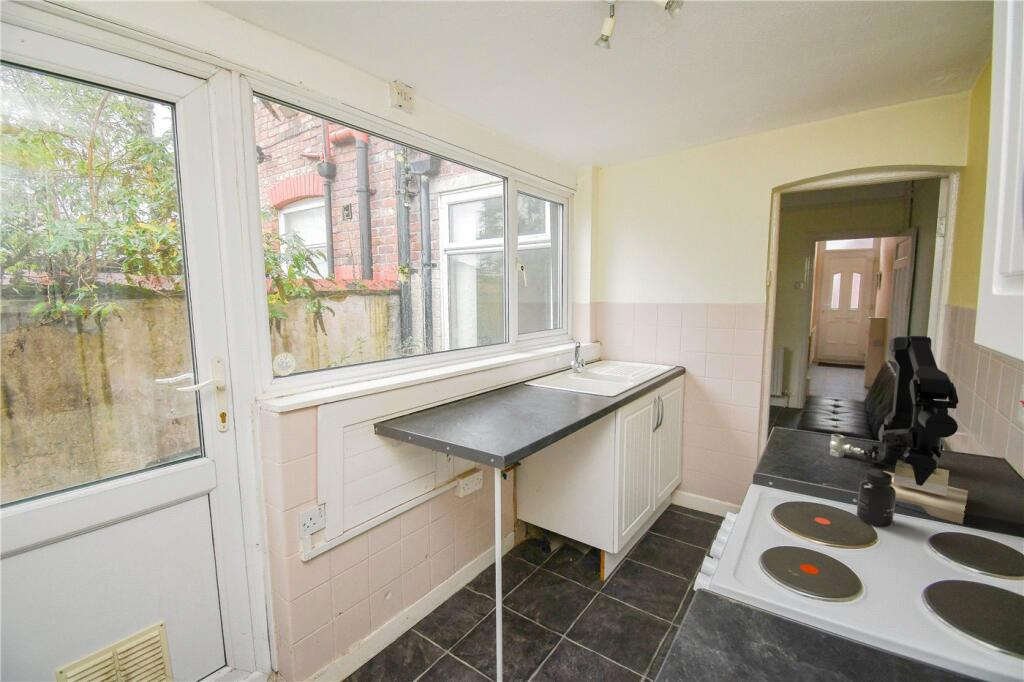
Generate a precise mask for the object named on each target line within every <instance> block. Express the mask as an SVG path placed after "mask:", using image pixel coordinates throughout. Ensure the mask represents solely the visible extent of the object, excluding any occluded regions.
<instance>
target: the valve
mask: <svg viewBox="0 0 1024 682" xmlns="http://www.w3.org/2000/svg"><path fill="white" fill-rule="evenodd" d="M830 439H831V440H830V442H829V448H830V449H829V454H830V456H833V457H837V458H843V457H844V455H845V453H847V454H851V453H855V454H857V455H861V454H862V455H863V456H864V457H865V459H866V464H868V465H871V466H875V462H877V461H878V455H879V453H880V451H878V449H879V446H878V445H876V444H870V447H869V448H868V449H864V450H863V449H862V448H859V447H854V446H853V444H851V443H846V437H845V436H844V435H842V434H839V433H832V434H831V436H830Z"/></svg>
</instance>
